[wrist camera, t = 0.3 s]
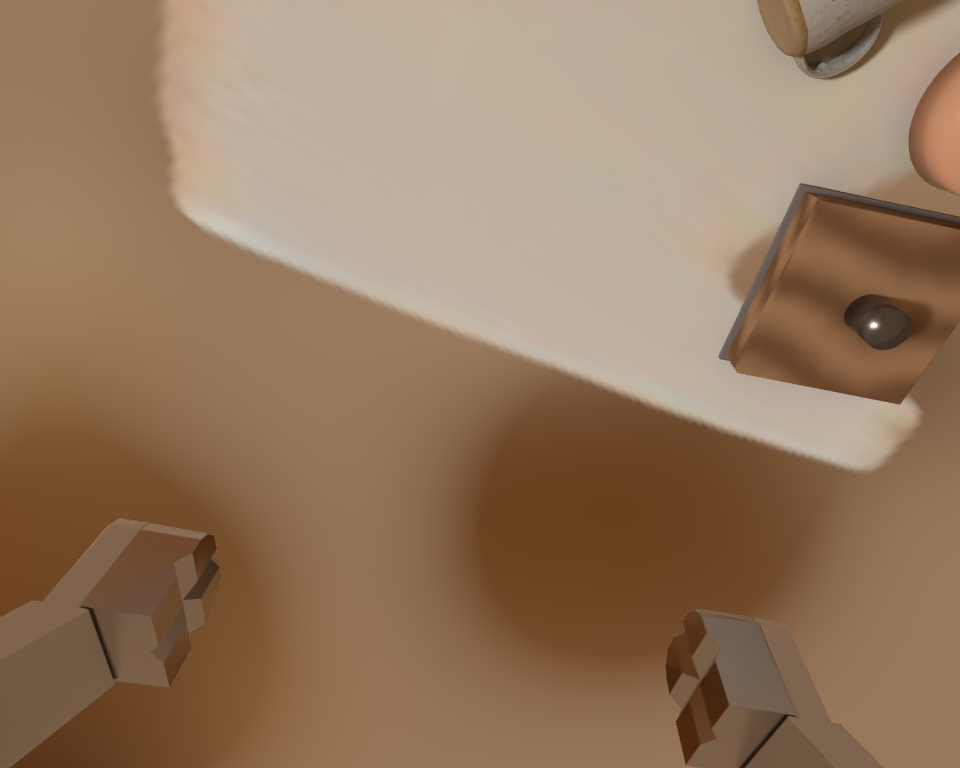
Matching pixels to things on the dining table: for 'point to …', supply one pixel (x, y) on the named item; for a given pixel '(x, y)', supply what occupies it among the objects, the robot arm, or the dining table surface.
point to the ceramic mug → (823, 29)
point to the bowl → (938, 131)
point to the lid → (853, 300)
